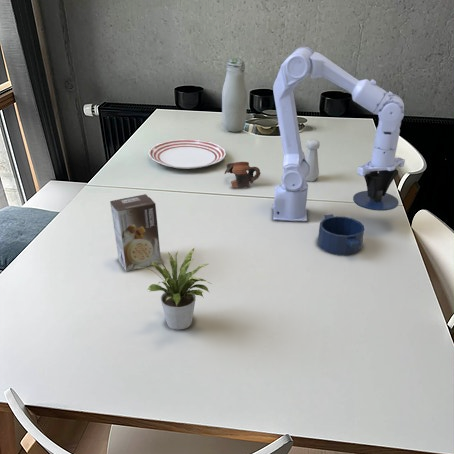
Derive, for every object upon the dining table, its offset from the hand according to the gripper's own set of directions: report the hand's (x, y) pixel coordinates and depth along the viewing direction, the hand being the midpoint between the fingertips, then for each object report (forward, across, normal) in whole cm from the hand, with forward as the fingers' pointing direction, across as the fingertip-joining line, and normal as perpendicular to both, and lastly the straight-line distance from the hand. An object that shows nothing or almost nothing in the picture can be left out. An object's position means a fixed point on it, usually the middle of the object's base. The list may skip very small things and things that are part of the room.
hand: (376, 196), depth 140 cm
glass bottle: (+9, +10, +92) cm, 93 cm away
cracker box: (+9, -64, +13) cm, 66 cm away
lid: (+2, 0, 0) cm, 2 cm away
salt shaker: (+9, +6, +36) cm, 37 cm away
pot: (+9, -15, -4) cm, 18 cm away
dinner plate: (+9, -22, +71) cm, 75 cm away
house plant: (+9, -67, -14) cm, 69 cm away
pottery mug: (+9, -16, +43) cm, 47 cm away
